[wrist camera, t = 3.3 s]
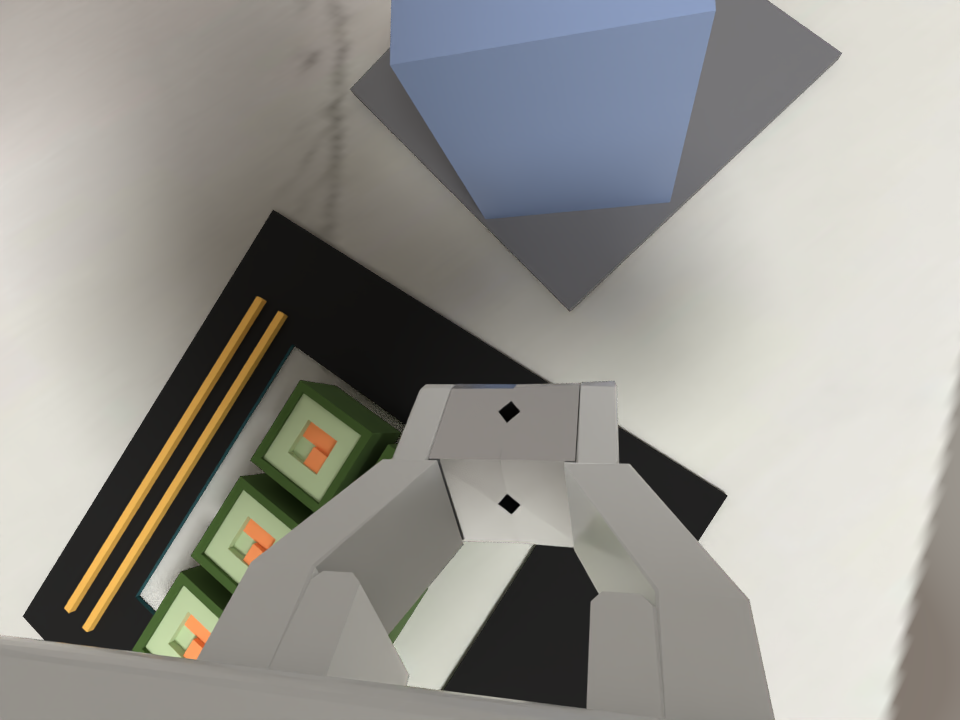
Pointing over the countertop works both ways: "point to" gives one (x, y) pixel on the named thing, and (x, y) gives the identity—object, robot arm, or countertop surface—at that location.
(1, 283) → the countertop surface
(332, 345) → the sushi
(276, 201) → the countertop surface
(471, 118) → the card deck
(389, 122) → the rubber mat
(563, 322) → the countertop surface
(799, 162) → the countertop surface
